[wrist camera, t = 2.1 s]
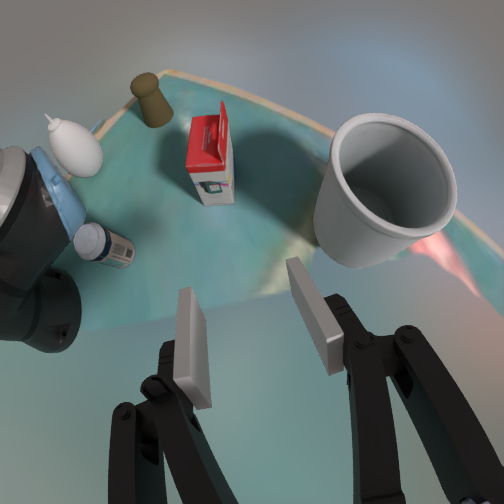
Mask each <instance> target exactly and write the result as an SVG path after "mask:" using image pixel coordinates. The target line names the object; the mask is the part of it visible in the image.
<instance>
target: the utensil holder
mask: <svg viewBox="0 0 504 504" xmlns="http://www.w3.org/2000/svg"><path fill="white" fill-rule="evenodd" d="M456 202H457V184H456V180H455V176H454V173H453V170H452V167H451V165H450V163H449V161H448V159H447V157H446V156H445V154H444V152H443V151H442V149H441V148H440V147H439V145H438V144H437V143H436V142H435V141H434V140H433V139H432V138H431V137H430V136H429V135H428V134H427V133H426V132H424V131H423V130H422V129H420V128H419V127H417V126H416V125H414V124H412V123H411V122H409V121H407V120H404V119H402V118H400V117H397V116H394V115H390V114H384V113H366V114H361V115H358V116H355V117H352V118H350V119H349V120H347V121H346V122H345V123H344V124H342V125H341V127H340V128H339V129H338V130H337V132H336V134H335V135H334V138H333V140H332V143H331V147H330V152H329V162H328V165H327V168H326V172H325V175H324V178H323V182H322V185H321V188H320V191H319V194H318V198H317V202H316V206H315V210H314V215H313V227H314V233H315V236H316V238H317V241H318V243H319V245H320V246H321V248H322V249H323V250H324V252H325V253H326V254H327V255H328V256H329V257H330V258H332V259H333V260H335V261H336V262H338V263H339V264H341V265H344V266H347V267H351V268H367V267H371V266H374V265H376V264H378V263H380V262H382V261H384V260H386V259H388V258H390V257H392V256H394V255H395V254H397V253H399V252H401V251H402V250H404V249H405V248H407V247H409V246H410V245H412V244H414V243H415V242H417V241H418V240H420V239H422V238H425V237H428V236H431V235H433V234H435V233H436V232H438V231H439V230H441V229H442V228H443V227H444V226H445V225H446V224H447V223H448V222H449V220H450V219H451V217H452V215H453V213H454V210H455V207H456Z"/></svg>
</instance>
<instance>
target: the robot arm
mask: <svg viewBox="0 0 504 504" xmlns="http://www.w3.org/2000/svg"><path fill="white" fill-rule="evenodd" d="M85 218H86V209H85V206H84V205H83V203H82V201H81V200H80V198H79V197H78V196H77V194H76V193H75V191H74V190H73V189H72V187H71V186H70V184H69V183H68V182H67V180H66V179H65V178H64V176H63V175H62V173H61V172H60V171H59V169H58V168H57V167H56V166H55V164H54V162H53V161H52V160H51V158H50V157H49V156H48V155H47V153H46V152H45V151H44V150H43V149H42V147H40V146H38V147H36V148H35V149H33V150H31V151H30V154H29V155H28V154H27V153H26V152H25V151H24V150H23V149H22V148H20V147H18V146H11V147H9V148H5V149H0V340H6V341H22V342H24V343H26V344H27V345H29V346H31V347H33V348H35V349H37V350H39V351H42V352H45V353H58V352H61V351H64V350H65V349H67V348H68V347H69V346H70V345H71V344H72V343H73V341H74V340H75V338H76V336H77V333H78V331H79V327H80V323H81V313H82V310H81V299H80V295H79V291H78V289H77V286H76V284H75V282H74V281H73V279H72V278H71V277H70V276H69V275H68V274H67V273H66V272H64V271H62V270H60V269H57V268H55V267H50V266H51V265H52V264H53V262H54V261H55V260H56V259H57V257H58V256H59V255H60V254H61V252H62V251H63V250H64V249H65V248H66V246H67V245H68V244H69V243H70V242H71V241H72V240H73V237H74V235H75V234H76V233H77V231H78V230H79V229H80V227H81V226H82V225H83V223H84V221H85ZM286 265H287V270H288V275H289V281H290V286H291V291H292V296H293V298H294V300H295V302H296V304H297V307H298V309H299V311H300V313H301V315H302V317H303V320H304V322H305V324H306V326H307V329H308V331H309V333H310V335H311V337H312V340H313V342H314V344H315V346H316V348H317V351H318V353H319V355H320V357H321V360H322V362H323V364H324V366H325V368H326V371H327V373H328V375H332V374H335V373H338V372H340V371H343V369H344V366H345V368H346V370H347V385H348V390H349V400H350V413H351V428H352V444H353V445H352V446H353V479H354V481H353V488H354V489H353V491H354V494H353V497H354V498H353V504H406V501H405V496H404V493H403V492H402V490H401V483H400V470H399V460H398V451H397V442H396V434H395V427H394V421H393V414H392V408H391V403H390V397H389V391H388V386H387V381H386V377H387V376H390V378H391V380H392V382H393V384H394V386H395V388H396V390H397V392H398V394H399V396H400V398H401V399H402V402H403V404H404V405H405V407H406V410H407V411H408V413H409V416H410V418H411V420H412V422H413V424H414V426H415V428H416V430H417V432H418V434H419V436H420V439H421V441H422V443H423V445H424V447H425V449H426V451H427V454H428V456H429V458H430V460H431V463H432V465H433V467H434V470H435V472H436V474H437V477H438V479H439V482H440V484H441V486H442V489H443V491H444V493H445V495H446V497H447V499H448V500H449V502H450V503H451V504H504V467H503V466H502V465H501V463H500V461H499V459H498V456H497V454H496V452H495V450H494V448H493V446H492V445H491V443H490V441H489V439H488V437H487V435H486V433H485V431H484V430H483V428H482V426H481V424H480V422H479V421H478V419H477V417H476V415H475V414H474V412H473V410H472V408H471V407H470V405H469V403H468V402H467V400H466V398H465V397H464V395H463V394H462V392H461V391H460V389H459V387H458V386H457V384H456V382H455V381H454V380H453V378H452V376H451V375H450V374H449V372H448V370H447V369H446V367H445V366H444V364H443V363H442V361H441V360H440V358H439V357H438V355H437V354H436V353H435V351H434V350H433V348H432V347H431V345H430V344H429V343H428V341H427V340H426V338H425V337H424V335H423V334H422V333H421V331H420V330H419V329H418V328H416V327H414V326H412V325H405V326H401V327H400V328H398V329H397V330H396V332H395V334H394V335H387V336H376V335H374V334H373V333H371V332H368V331H367V330H366V329H365V328H364V327H363V325H362V324H361V322H360V320H359V319H358V317H357V316H356V314H355V313H354V312H353V311H352V309H351V307H350V306H349V304H348V303H347V301H346V300H345V298H343V297H342V296H340V295H339V294H334V295H331V296H328V297H325V298H323V297H322V295H321V294H320V292H319V290H318V289H317V287H316V285H315V284H314V282H313V280H312V279H311V277H310V275H309V274H308V272H307V270H306V269H305V267H304V266H303V264H302V262H301V261H300V259H299V257H298V256H297V257H294V258H290V259H287V260H286ZM158 364H159V365H158V373H157V375H152V376H149V377H148V378H146V379H145V380H144V381H143V382H142V385H141V389H140V392H141V393H142V394H143V395H144V396H145V397H146V398H147V399H148V400H146V401H144V402H142V403H140V404H138V405H135V406H134V405H133V404H132V403H130V402H124V403H120V404H119V405H118V406H117V407H116V408H115V409H114V411H113V415H112V425H111V437H110V450H109V469H108V504H167V495H166V485H165V472H164V456H163V451H164V454H165V457H166V460H167V463H168V466H169V468H170V471H171V474H172V477H173V479H174V482H175V485H176V488H177V490H178V492H179V495H180V498H181V500H182V502H183V504H238V502H237V500H236V498H235V496H234V495H233V493H232V491H231V489H230V487H229V485H228V483H227V482H226V480H225V477H224V475H223V474H222V471H221V469H220V468H219V465H218V463H217V461H216V459H215V457H214V455H213V453H212V451H211V449H210V447H209V444H208V442H207V440H206V438H205V436H204V434H203V431H202V429H201V426H200V424H199V422H198V419H197V417H196V416H195V414H194V413H193V406H195V408H196V409H197V410H200V409H206V408H211V407H212V404H211V392H210V380H209V379H210V378H209V364H208V350H207V330H206V319H205V317H204V314H203V312H202V310H201V308H200V305H199V303H198V301H197V299H196V296H195V294H194V292H193V289H192V287H188V288H184V289H181V290H179V298H178V309H177V322H176V335H175V340H172V341H167V342H164V343H163V345H162V347H161V348H160V352H159V362H158Z"/></svg>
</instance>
